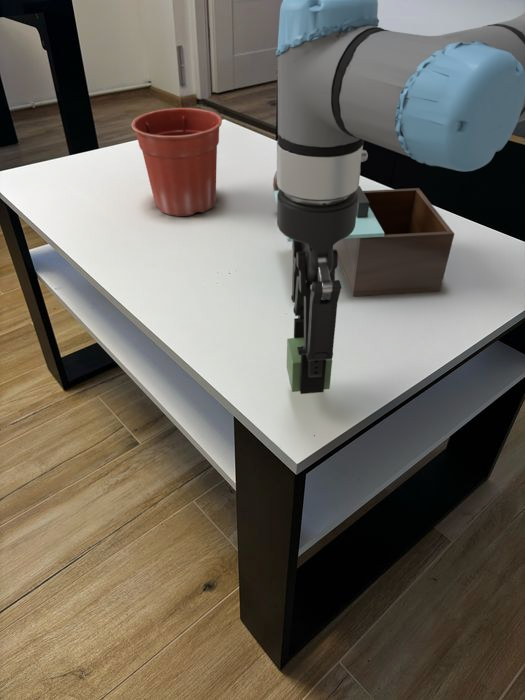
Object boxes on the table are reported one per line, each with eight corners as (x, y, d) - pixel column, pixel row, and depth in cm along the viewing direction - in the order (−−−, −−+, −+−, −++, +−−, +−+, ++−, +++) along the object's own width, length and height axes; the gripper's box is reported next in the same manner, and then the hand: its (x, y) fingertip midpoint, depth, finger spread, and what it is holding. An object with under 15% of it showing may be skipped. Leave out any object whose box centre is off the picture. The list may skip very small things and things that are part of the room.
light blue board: (384, 236, 78) (387, 217, 76) (287, 242, 76) (288, 222, 74) (357, 190, 90) (359, 172, 88) (273, 194, 89) (274, 176, 87)
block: (329, 389, 63) (332, 359, 61) (291, 392, 63) (292, 363, 60) (322, 364, 67) (324, 335, 64) (286, 366, 67) (287, 338, 64)
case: (440, 291, 85) (454, 233, 78) (352, 296, 84) (360, 238, 77) (408, 241, 97) (419, 188, 91) (332, 245, 96) (336, 191, 89)
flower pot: (133, 196, 112) (119, 115, 101) (206, 180, 118) (200, 102, 107) (161, 229, 101) (149, 142, 90) (240, 210, 107) (237, 126, 96)
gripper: (383, 230, 43) (355, 427, 58) (337, 153, 57) (324, 329, 72) (291, 235, 43) (286, 433, 58) (267, 157, 56) (268, 333, 71)
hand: (307, 375), depth 65 cm, fingers closed on block, 4 cm apart
